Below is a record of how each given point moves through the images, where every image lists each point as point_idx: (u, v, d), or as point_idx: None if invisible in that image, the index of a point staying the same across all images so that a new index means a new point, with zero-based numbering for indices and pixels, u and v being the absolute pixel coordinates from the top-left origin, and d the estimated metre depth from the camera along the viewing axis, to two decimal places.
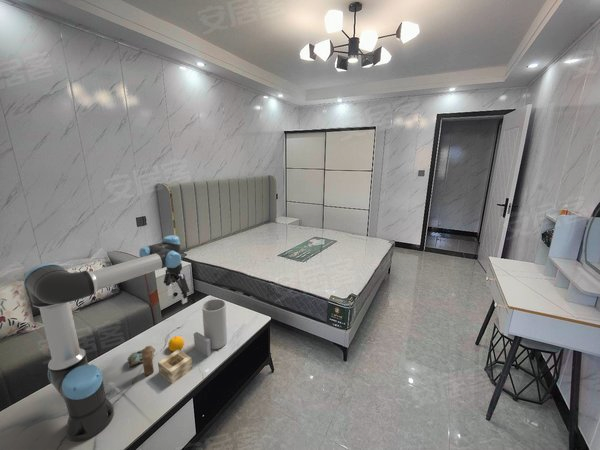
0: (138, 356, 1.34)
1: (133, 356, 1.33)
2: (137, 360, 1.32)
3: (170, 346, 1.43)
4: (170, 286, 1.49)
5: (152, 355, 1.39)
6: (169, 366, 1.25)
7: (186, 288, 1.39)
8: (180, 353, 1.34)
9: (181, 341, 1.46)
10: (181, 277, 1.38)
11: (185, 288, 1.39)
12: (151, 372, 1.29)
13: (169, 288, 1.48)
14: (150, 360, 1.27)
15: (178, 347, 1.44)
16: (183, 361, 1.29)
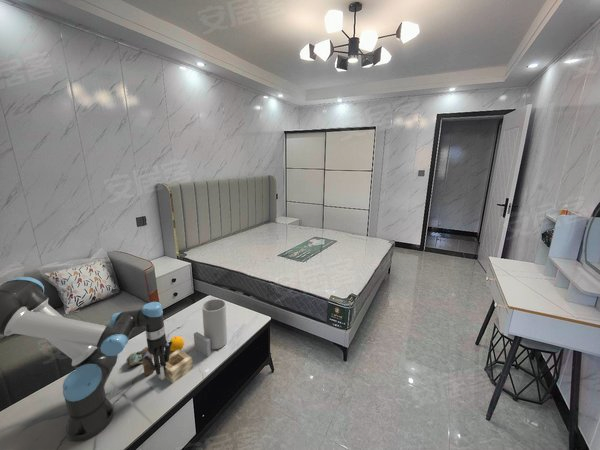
0: (137, 357, 1.33)
1: (132, 357, 1.33)
2: (135, 361, 1.32)
3: None
4: None
5: None
6: (169, 366, 1.26)
7: (151, 367, 1.19)
8: (180, 353, 1.34)
9: (181, 341, 1.46)
10: (144, 357, 1.16)
11: (150, 366, 1.19)
12: (151, 372, 1.29)
13: None
14: None
15: (178, 347, 1.44)
16: (183, 361, 1.29)
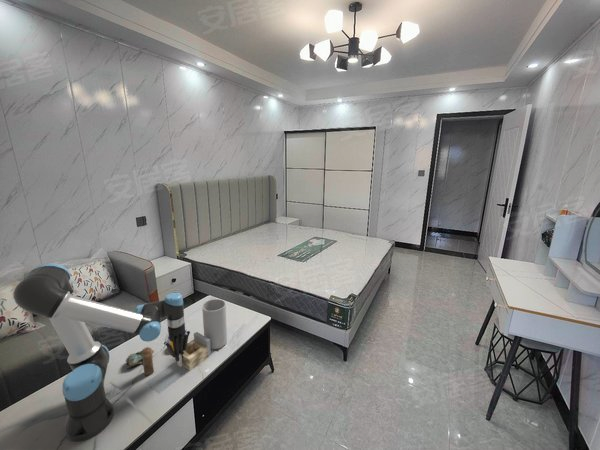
0: (136, 358, 1.33)
1: (131, 357, 1.32)
2: (135, 362, 1.31)
3: None
4: None
5: None
6: (187, 354, 1.33)
7: (171, 354, 1.27)
8: (196, 343, 1.42)
9: None
10: None
11: (170, 353, 1.27)
12: (151, 372, 1.29)
13: None
14: (150, 360, 1.27)
15: None
16: (199, 350, 1.37)
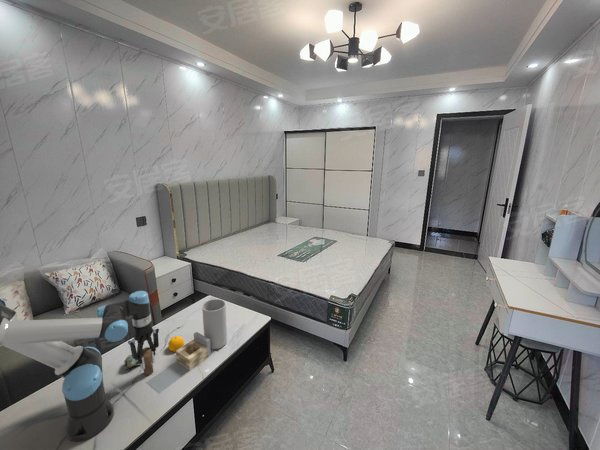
0: (134, 359, 1.32)
1: (129, 359, 1.32)
2: (133, 363, 1.30)
3: (170, 346, 1.43)
4: (151, 353, 1.28)
5: None
6: (187, 354, 1.33)
7: (133, 355, 1.21)
8: (196, 343, 1.42)
9: (181, 341, 1.46)
10: (129, 344, 1.20)
11: (132, 354, 1.22)
12: (151, 372, 1.28)
13: None
14: (150, 360, 1.27)
15: (178, 347, 1.44)
16: (199, 350, 1.37)
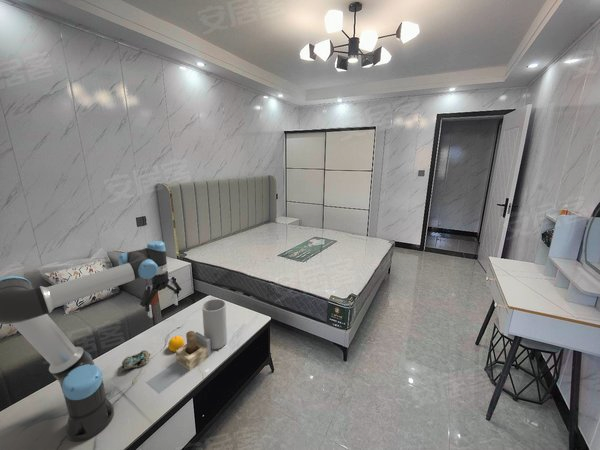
0: (131, 361, 1.31)
1: (127, 360, 1.31)
2: (130, 365, 1.29)
3: (170, 346, 1.43)
4: (174, 295, 1.38)
5: (146, 360, 1.35)
6: (187, 354, 1.33)
7: (142, 301, 1.24)
8: (196, 343, 1.42)
9: (181, 341, 1.46)
10: (145, 287, 1.25)
11: (142, 300, 1.24)
12: None
13: (174, 296, 1.38)
14: (194, 342, 1.36)
15: (178, 347, 1.44)
16: (199, 350, 1.37)
